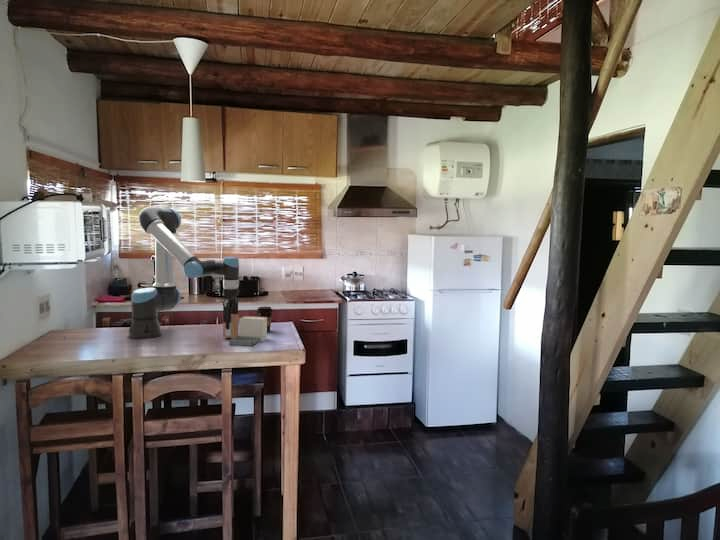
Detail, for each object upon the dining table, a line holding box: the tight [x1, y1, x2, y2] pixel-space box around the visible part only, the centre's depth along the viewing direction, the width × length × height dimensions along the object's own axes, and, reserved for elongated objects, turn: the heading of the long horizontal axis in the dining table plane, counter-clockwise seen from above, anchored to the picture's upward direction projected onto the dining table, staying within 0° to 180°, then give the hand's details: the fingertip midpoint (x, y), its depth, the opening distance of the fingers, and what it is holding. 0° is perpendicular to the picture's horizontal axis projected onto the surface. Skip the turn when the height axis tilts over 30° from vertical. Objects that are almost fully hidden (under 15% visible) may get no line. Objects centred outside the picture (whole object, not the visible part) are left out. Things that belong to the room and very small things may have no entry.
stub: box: [222, 313, 240, 339], centre depth 240 cm, size 6×5×11 cm
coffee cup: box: [256, 306, 274, 333], centre depth 256 cm, size 9×8×13 cm
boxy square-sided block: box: [238, 315, 268, 343], centre depth 238 cm, size 12×6×11 cm, turn 81°
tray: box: [229, 335, 260, 347], centre depth 230 cm, size 11×9×2 cm
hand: (230, 334), depth 240 cm, fingers closed on stub, 5 cm apart
